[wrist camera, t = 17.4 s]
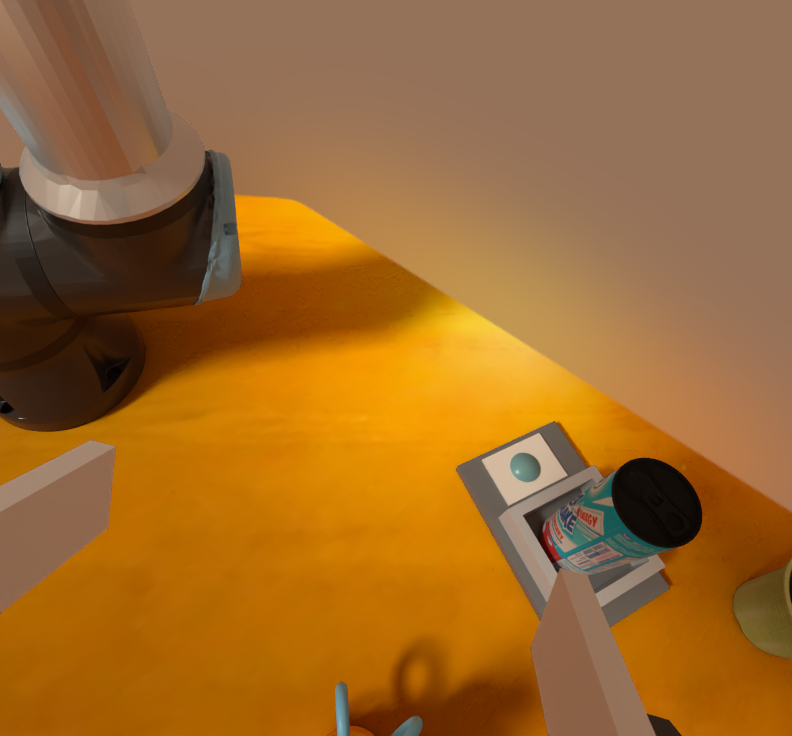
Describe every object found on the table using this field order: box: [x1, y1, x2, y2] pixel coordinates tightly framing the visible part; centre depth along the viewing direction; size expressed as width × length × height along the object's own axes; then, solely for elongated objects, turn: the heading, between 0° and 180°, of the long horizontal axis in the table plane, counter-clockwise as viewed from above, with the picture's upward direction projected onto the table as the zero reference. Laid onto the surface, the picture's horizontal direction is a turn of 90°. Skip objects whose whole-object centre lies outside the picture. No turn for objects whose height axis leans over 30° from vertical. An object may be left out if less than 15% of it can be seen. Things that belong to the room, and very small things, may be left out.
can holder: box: [456, 421, 670, 627], centre depth 45 cm, size 18×12×4 cm, turn 26°
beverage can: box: [540, 458, 702, 576], centre depth 38 cm, size 6×6×15 cm
